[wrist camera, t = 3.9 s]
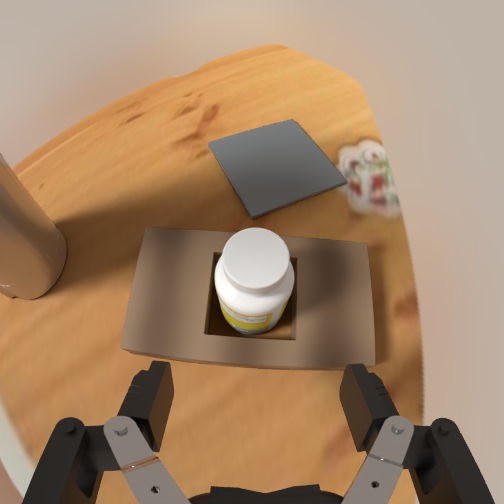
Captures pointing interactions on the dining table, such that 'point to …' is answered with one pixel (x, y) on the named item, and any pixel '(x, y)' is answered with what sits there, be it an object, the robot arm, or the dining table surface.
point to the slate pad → (274, 166)
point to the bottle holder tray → (250, 349)
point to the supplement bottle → (254, 280)
